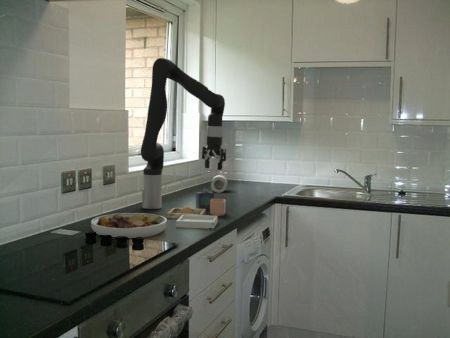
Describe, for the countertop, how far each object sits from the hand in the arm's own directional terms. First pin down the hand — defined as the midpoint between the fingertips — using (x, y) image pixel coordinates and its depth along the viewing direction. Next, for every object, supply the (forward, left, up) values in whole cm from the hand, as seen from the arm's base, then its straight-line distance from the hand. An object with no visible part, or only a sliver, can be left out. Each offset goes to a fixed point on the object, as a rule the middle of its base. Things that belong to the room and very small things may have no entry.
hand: (213, 169), depth 239 cm
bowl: (-28, -45, -22) cm, 58 cm away
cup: (+3, -3, -22) cm, 22 cm away
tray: (-3, -27, -22) cm, 35 cm away
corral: (-11, -9, -22) cm, 26 cm away
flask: (-5, +8, -22) cm, 24 cm away
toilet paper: (-5, +72, -22) cm, 75 cm away
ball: (-11, -9, -19) cm, 24 cm away
